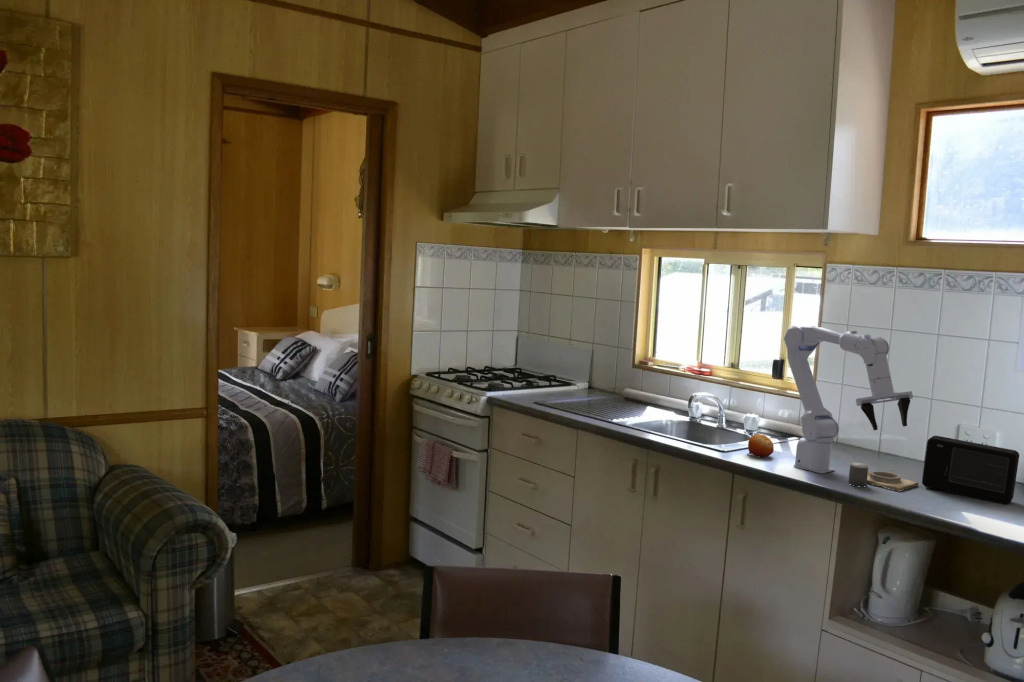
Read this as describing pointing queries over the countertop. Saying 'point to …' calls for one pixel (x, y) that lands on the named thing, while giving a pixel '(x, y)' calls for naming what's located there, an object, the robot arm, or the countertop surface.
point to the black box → (970, 469)
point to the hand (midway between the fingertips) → (890, 428)
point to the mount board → (889, 480)
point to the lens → (858, 474)
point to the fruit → (760, 446)
